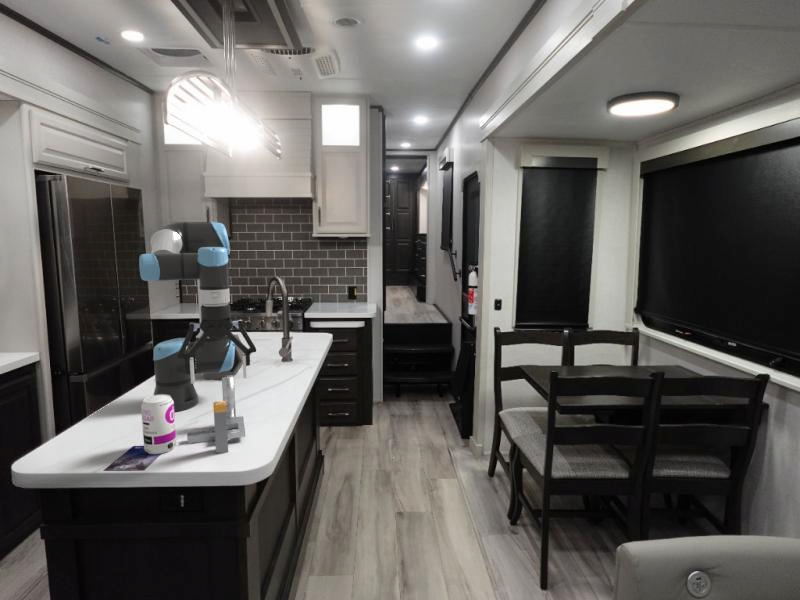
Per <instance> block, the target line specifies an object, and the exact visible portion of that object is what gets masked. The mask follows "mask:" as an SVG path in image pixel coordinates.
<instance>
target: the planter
mask: <svg viewBox="0 0 800 600" xmlns="http://www.w3.org/2000/svg"><path fill="white" fill-rule="evenodd" d="M233 335H234V336H235V337H236V338H237V339H238V340H239V341H240V342H241V343H242V341H241V339H240V337H239V335H238V334H233ZM243 353H244V352H243V351H242V350H241V349H240V348H239V347H238V346H237V345H236V344H235V355H234V363H233V367H232V369H230V370H229V371H223V372H219V373H218V372H213V373H204V374H203V378H205V379H206V380H222V377H223V376H226V375H233V376H234V377H235V376H236V375H237V374H238V372H239V370H241V368H242V367H243V358H242V354H243Z"/></svg>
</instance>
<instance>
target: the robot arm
mask: <svg viewBox="0 0 800 600" xmlns="http://www.w3.org/2000/svg"><path fill="white" fill-rule="evenodd" d="M150 237H151V238H150V248H151V252H149V253H143V254H142V253H141V254H140V255H139V263H138V264H139V273H140V274H139V275H140V278H141V280H142V281H145V282H159V281H161V282H164V281H165V282H166V281H185V280H186V281H191V280H194V281H195V280H196V281H197V295H198V296H197V299H198V313H199V314H198V316H199V323H197V322H196V323H195V322H193V321H192V322H191V321H190V323H189V325H188V332H187V334H186V336H185V337H176V338H172V339H169V340H167V339H166V340H164V341H161V342H159V343H157V344H156V345H155V346H154V348H153V359H152V361H154V363H153V364H154V381H155V386H154V387H155V388H154V392H153V394H152V396H153V395H160V394H166V395H170V396H171V398H172V400H173V401H174V413H176V412H181V411H184V410H185V411H186V410H188V409H191V408H193V407H196V405H198V403H199V394H198V393H197V390H196V388H195V386H194V384H195V375H202V374H204V373H213V372H218V373H219V372H223V371H229V370H230V369H232V367H233V363H234V355H235V344H236V345H237V346H238V347H239V348H240V349H241V350H242V351H243V352H244V353H243V354H242V358H243V364H242V373H243V374H242V376H243V379H247V378H248V377H247V367H248V366H249V367H250V365H251V354H253V353H256V352H257V348H256V346H255V344H254V343H253V341H252V339H251V338H250V335H249V334H248V332H247V330H246V328H245V327H244V323H243V320H242V319H238V320H232V318H231V317H232V315H231V305H230V302H231V298H230V297H231V295H230V283H229V278H230V277H229V257H228V255H231V254H230V253H231V249H230V243H229V242H230V241H229V237H228V232H227V228H226V227H225V224H224V223H221V222H216V221H215V222H213V221H177V222H172V223H168V224H164V225H163V226H161V227H159V228H158V229H157V230H155V231H154V232H153V233H152V235H151V236H150ZM234 326H235V329H239V332H240V333H241V335H242V337H243V338H244V340H245V342H246V343H247V345H248V347H249V348H248V347H247V346H245V344H244V343H243V342H242V341H241V340H240V341H241V342H240V341H239V340H238V339H237V338H236V337H235V336H234V335H235V334H233V333H232V331H231V329H232V328H233V327H234ZM198 329H199V333H198V334H197V335H196V336H195V341H191V339H192V337H193V335H194V332H197V330H198Z"/></svg>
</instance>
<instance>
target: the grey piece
mask: <svg viewBox="0 0 800 600" xmlns="http://www.w3.org/2000/svg"><path fill="white" fill-rule="evenodd" d="M221 384H222V387H221V389H222V401H226V415H227V435H228V439H229V440H230V439H236V438H243V437H244V438H245V437H246V429H245V428H246V427H245V420H244V416H243V415H242V416H241V415H240V416H237V415H236V394H235V391H236V388H235V387H236V386H235V376H233V375H226V376H223V377H222V379H221ZM186 438H187V445H189V444H196V443H203V442H211V441H215V428H214V429H206V430H199V431H190V432H187V435H186Z"/></svg>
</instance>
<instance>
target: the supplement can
mask: <svg viewBox="0 0 800 600" xmlns="http://www.w3.org/2000/svg"><path fill="white" fill-rule="evenodd" d="M140 409H141V421H142V423H141V425H142V435H143V438H142V439H143V446H144V448H143V449H144V451H145V452H146V453H148V454H149V455H162V454H165V453H168V452H171V451H172V450H173V449H174V448H175V447H176V446H177V433H176V431H177V430H176V420H175V412H174V401H173V400H172V398H171V396H170V395H166V394H160V395H153V394H152V395H149V396H147V397H144V399H143V401H142V403H141V406H140Z"/></svg>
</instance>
